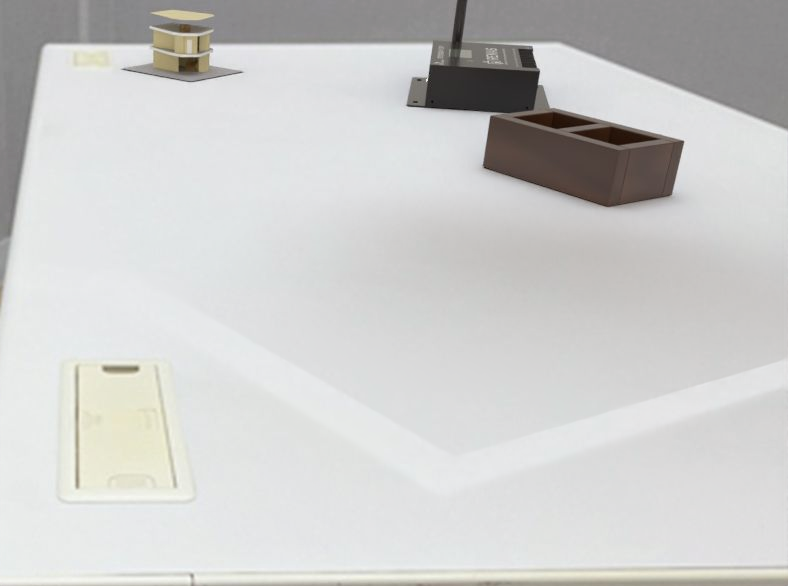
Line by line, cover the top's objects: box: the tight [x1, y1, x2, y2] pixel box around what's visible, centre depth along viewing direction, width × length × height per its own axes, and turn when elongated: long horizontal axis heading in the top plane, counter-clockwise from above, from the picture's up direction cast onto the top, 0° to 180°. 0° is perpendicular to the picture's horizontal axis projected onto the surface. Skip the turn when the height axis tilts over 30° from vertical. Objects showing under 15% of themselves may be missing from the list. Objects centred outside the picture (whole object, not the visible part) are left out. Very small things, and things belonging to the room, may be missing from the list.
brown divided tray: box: [482, 107, 685, 207], centre depth 94 cm, size 7×13×4 cm, turn 32°
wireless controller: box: [406, 0, 551, 113], centre depth 121 cm, size 20×14×17 cm
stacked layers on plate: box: [120, 9, 244, 82], centre depth 130 cm, size 10×9×6 cm
